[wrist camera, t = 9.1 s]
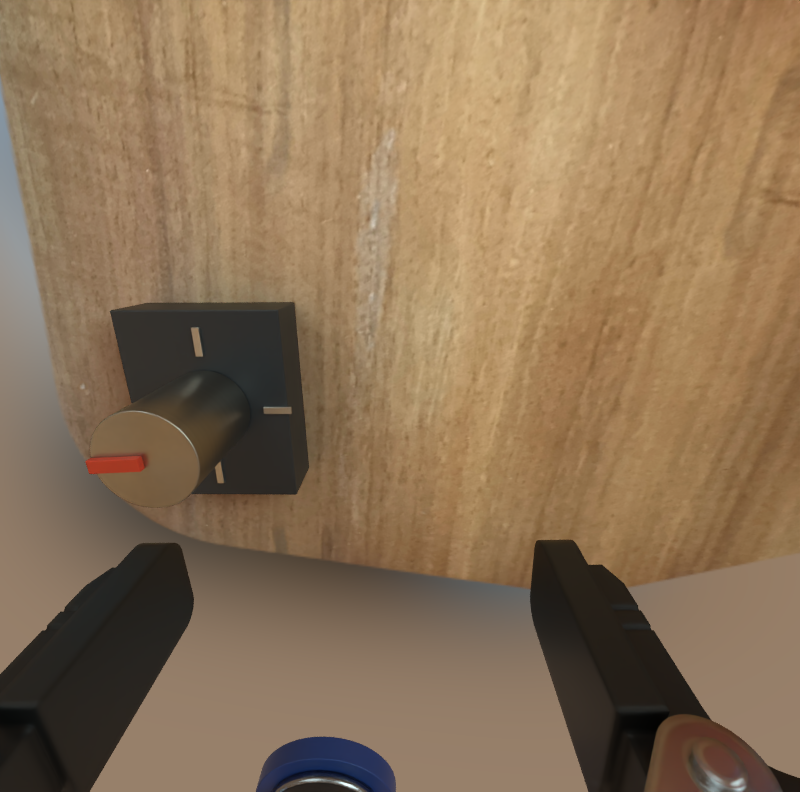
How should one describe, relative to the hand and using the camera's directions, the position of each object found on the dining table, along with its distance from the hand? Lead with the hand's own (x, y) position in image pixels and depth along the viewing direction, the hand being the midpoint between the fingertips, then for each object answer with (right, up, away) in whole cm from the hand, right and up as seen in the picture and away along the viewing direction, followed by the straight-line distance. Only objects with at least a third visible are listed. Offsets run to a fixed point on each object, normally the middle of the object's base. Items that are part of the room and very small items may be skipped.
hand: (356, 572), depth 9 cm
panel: (-9, +4, +15) cm, 18 cm away
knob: (-9, +3, +12) cm, 15 cm away
